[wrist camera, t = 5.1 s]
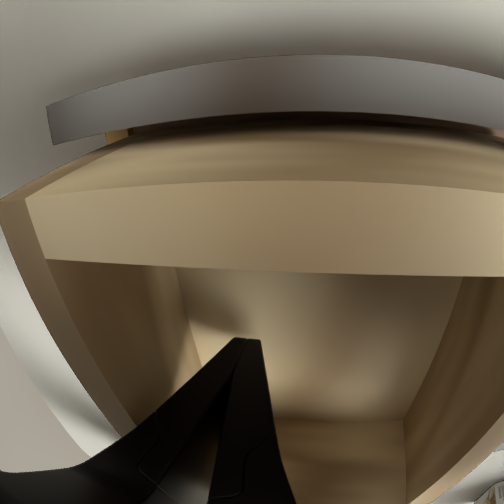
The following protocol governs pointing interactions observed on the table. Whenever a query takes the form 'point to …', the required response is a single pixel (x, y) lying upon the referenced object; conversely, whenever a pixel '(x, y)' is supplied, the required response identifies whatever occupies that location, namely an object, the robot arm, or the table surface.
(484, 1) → the table surface
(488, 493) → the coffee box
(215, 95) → the bay
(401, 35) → the table surface
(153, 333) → the crate
